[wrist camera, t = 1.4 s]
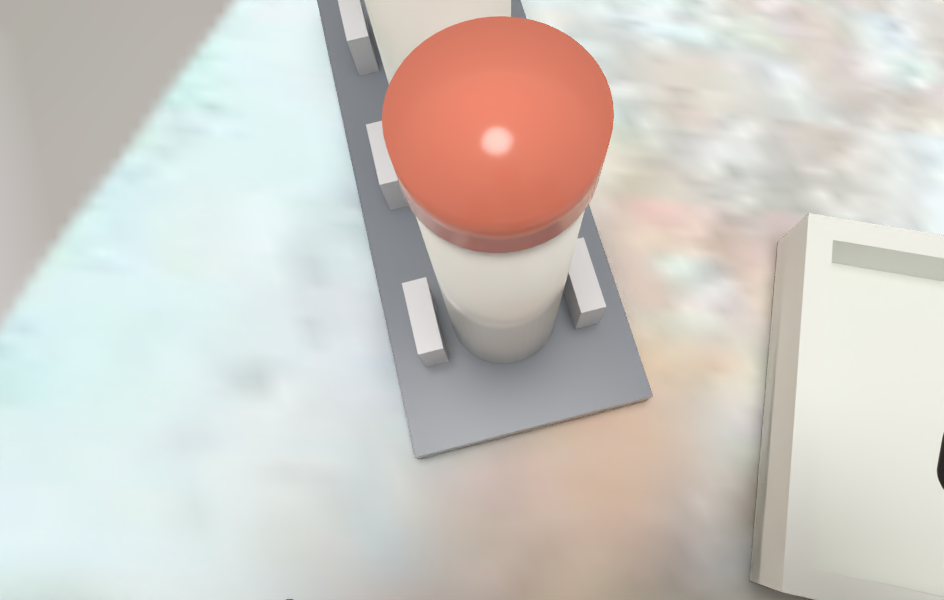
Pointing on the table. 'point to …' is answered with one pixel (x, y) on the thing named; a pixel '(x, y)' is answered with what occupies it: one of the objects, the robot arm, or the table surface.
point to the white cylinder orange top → (499, 170)
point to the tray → (853, 416)
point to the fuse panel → (414, 281)
